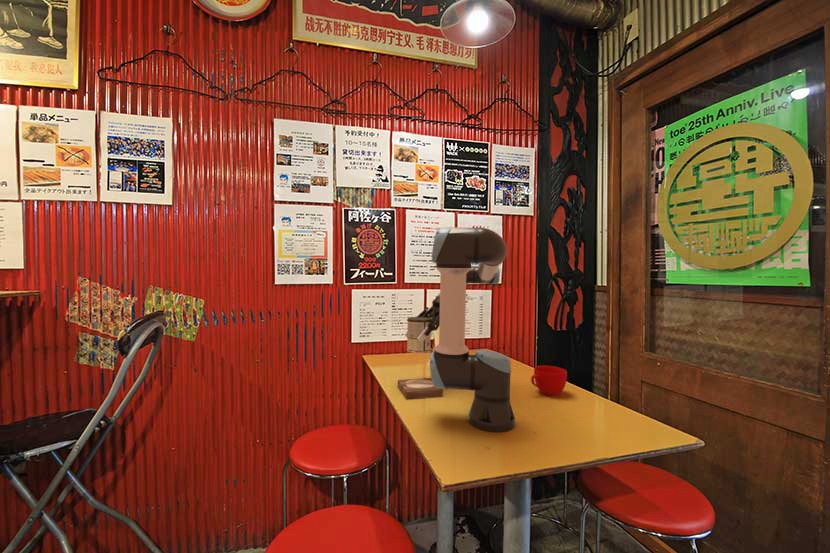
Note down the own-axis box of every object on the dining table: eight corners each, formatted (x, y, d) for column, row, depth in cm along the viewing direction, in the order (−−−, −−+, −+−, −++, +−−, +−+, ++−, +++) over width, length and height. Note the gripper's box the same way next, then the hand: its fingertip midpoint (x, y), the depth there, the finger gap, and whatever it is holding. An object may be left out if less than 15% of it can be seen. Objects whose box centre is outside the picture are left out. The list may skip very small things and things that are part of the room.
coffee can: (408, 348, 159) (408, 316, 159) (431, 349, 158) (431, 317, 158) (405, 352, 148) (406, 319, 149) (429, 353, 148) (430, 319, 148)
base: (442, 396, 142) (442, 388, 142) (406, 399, 138) (406, 390, 138) (430, 384, 157) (431, 377, 157) (397, 387, 153) (398, 379, 153)
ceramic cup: (519, 392, 150) (520, 368, 150) (548, 386, 158) (549, 364, 157) (543, 402, 138) (544, 376, 138) (573, 396, 146) (574, 372, 146)
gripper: (464, 309, 152) (432, 349, 143) (434, 305, 171) (405, 340, 163) (454, 296, 149) (422, 336, 141) (425, 294, 168) (395, 329, 160)
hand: (412, 338), depth 152 cm, fingers closed on coffee can, 10 cm apart
